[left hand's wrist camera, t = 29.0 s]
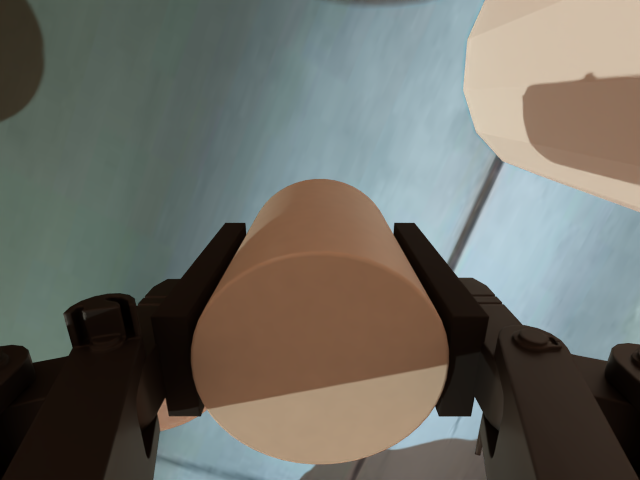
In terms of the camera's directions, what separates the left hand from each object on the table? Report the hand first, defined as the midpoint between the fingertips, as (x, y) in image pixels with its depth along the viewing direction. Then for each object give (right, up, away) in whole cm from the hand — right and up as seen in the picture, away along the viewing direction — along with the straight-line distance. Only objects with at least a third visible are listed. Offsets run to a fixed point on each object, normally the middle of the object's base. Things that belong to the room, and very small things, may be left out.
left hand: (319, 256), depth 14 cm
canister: (0, 0, +1) cm, 1 cm away
